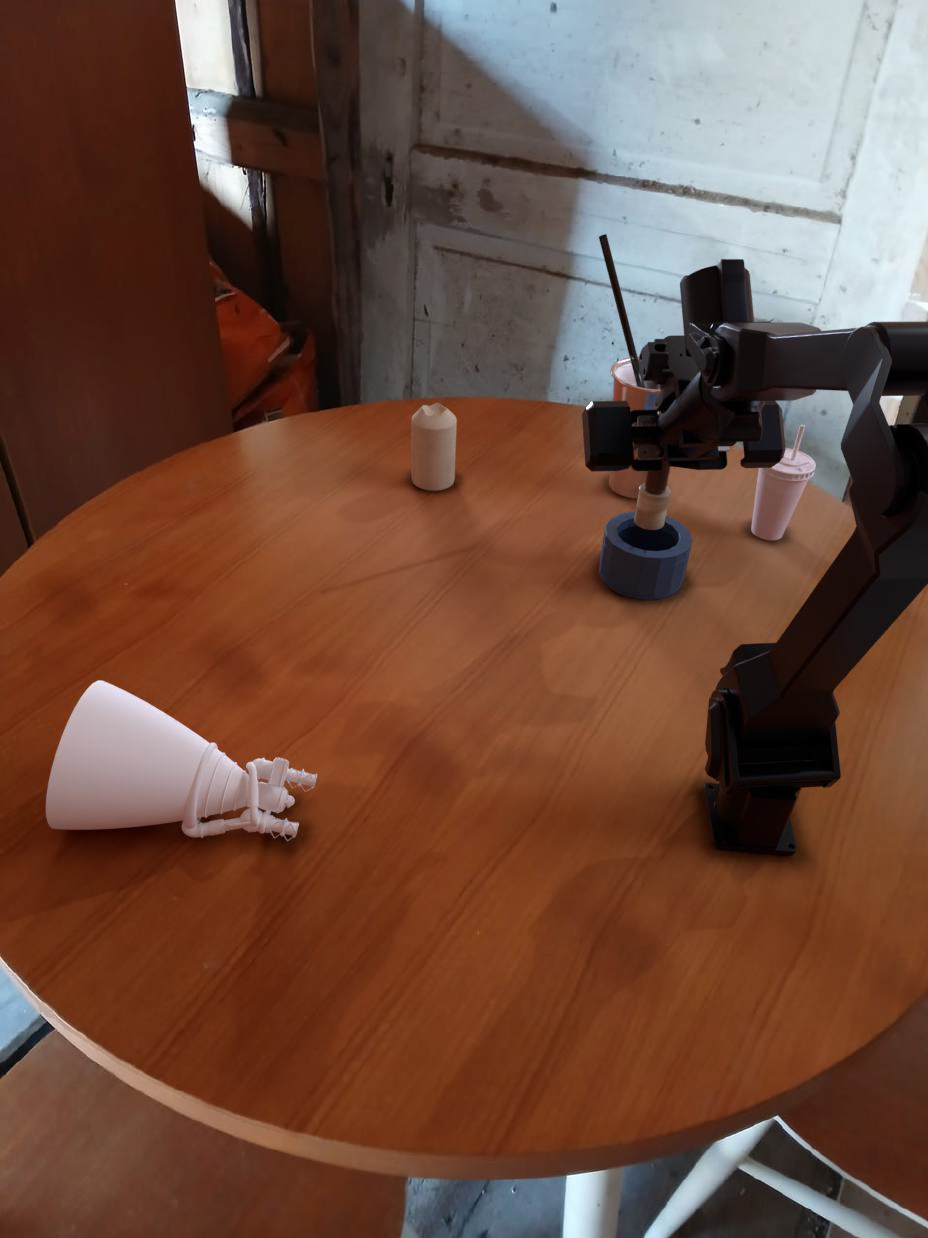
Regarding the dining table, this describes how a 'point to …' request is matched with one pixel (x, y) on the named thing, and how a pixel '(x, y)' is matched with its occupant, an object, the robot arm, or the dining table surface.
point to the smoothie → (780, 491)
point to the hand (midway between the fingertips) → (655, 460)
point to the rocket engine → (157, 773)
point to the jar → (644, 557)
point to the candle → (433, 447)
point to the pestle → (653, 498)
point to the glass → (627, 383)
